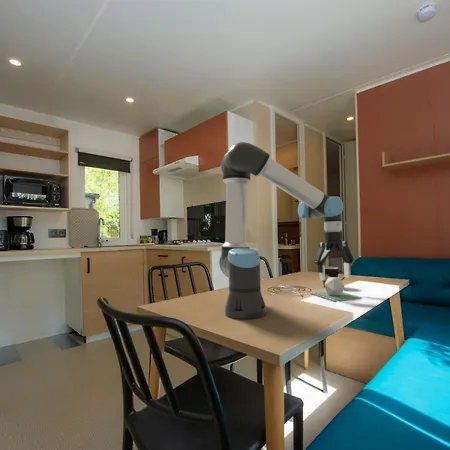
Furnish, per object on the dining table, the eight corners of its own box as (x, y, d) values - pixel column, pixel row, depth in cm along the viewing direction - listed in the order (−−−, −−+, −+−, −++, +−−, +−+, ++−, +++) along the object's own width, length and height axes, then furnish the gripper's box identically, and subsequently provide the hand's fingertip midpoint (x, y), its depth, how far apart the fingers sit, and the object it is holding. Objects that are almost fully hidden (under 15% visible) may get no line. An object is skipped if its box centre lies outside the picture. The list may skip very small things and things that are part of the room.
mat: (339, 301, 117) (339, 300, 117) (314, 293, 132) (314, 292, 132) (361, 298, 121) (361, 297, 121) (335, 291, 136) (335, 290, 136)
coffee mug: (318, 286, 149) (317, 267, 149) (331, 285, 151) (331, 266, 151) (332, 290, 138) (331, 270, 138) (347, 289, 140) (346, 268, 140)
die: (346, 295, 128) (334, 277, 133) (351, 289, 121) (338, 269, 126) (330, 302, 127) (318, 284, 132) (334, 296, 120) (322, 277, 125)
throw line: (334, 301, 116) (334, 301, 116) (310, 294, 132) (310, 293, 132) (336, 301, 117) (336, 300, 117) (312, 293, 132) (312, 293, 132)
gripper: (315, 231, 120) (317, 282, 119) (361, 230, 128) (363, 277, 127) (304, 232, 127) (306, 279, 126) (348, 230, 135) (350, 275, 134)
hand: (334, 278), depth 127 cm, fingers open, 13 cm apart
